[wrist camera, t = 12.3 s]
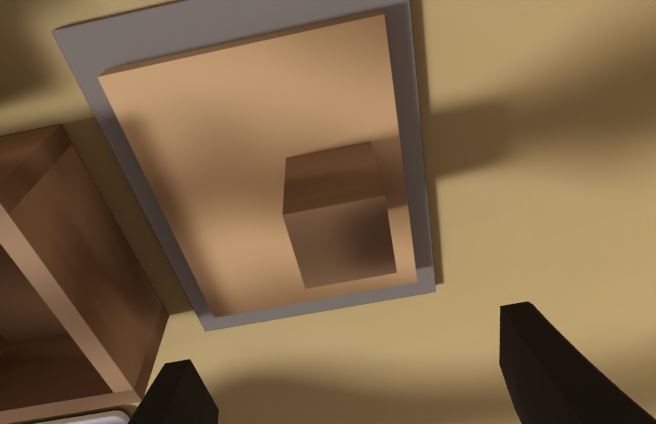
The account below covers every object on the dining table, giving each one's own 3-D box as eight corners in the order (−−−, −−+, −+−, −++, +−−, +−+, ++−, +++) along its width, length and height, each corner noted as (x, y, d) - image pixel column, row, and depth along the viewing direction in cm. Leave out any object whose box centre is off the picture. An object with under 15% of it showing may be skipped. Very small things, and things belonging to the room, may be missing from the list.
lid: (413, 269, 21) (436, 348, 17) (217, 304, 21) (199, 386, 18) (380, 8, 15) (406, 46, 11) (105, 69, 15) (46, 123, 12)
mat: (433, 285, 22) (435, 292, 22) (206, 325, 23) (205, 331, 22) (402, -51, 14) (404, -49, 14) (57, 28, 15) (51, 31, 15)
